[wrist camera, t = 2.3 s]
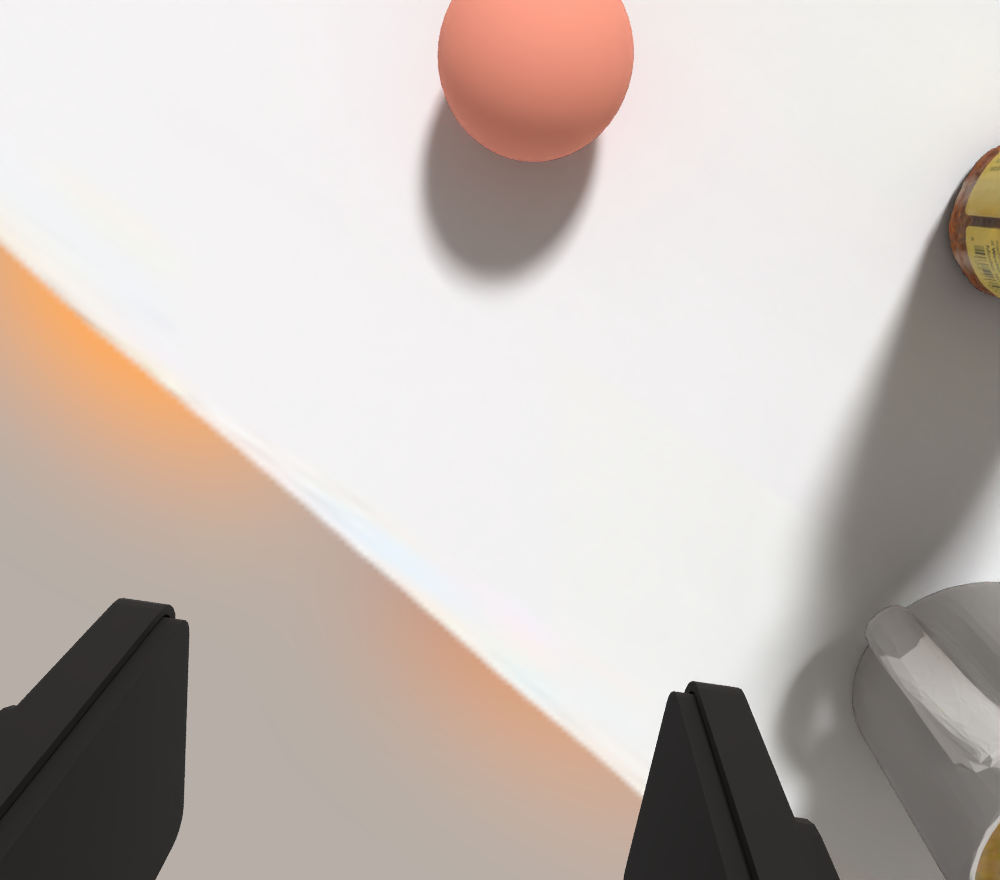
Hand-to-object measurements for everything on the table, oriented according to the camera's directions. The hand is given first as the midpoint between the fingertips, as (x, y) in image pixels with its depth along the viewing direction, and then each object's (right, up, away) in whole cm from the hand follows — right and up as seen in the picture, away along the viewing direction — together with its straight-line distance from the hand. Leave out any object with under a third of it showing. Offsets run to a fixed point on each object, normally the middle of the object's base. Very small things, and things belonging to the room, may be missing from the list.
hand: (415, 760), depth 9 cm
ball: (+2, +15, +16) cm, 23 cm away
